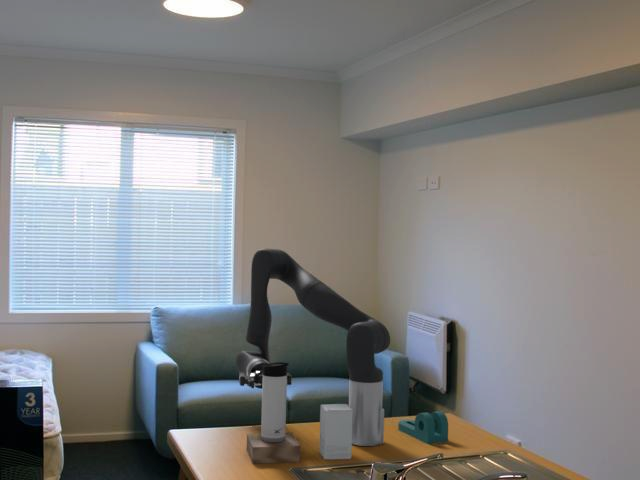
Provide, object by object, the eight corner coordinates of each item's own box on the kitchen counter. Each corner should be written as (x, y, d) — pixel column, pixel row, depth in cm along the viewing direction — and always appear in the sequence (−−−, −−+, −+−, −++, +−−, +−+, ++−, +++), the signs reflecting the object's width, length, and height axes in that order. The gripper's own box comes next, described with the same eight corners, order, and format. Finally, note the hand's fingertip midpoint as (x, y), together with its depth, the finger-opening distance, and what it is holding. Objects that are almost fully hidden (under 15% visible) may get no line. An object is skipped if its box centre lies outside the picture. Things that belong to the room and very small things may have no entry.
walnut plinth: (291, 447, 201) (291, 432, 201) (300, 461, 189) (300, 445, 189) (246, 449, 198) (246, 434, 198) (252, 463, 187) (252, 447, 187)
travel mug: (283, 443, 190) (285, 364, 190) (257, 441, 192) (260, 363, 191) (289, 437, 196) (291, 360, 196) (264, 435, 198) (266, 359, 198)
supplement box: (352, 459, 192) (353, 409, 192) (323, 460, 191) (324, 410, 191) (346, 451, 200) (347, 403, 199) (318, 451, 198) (319, 403, 198)
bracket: (447, 442, 211) (448, 414, 211) (427, 444, 208) (428, 416, 208) (413, 426, 227) (414, 400, 227) (394, 428, 225) (394, 402, 224)
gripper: (236, 360, 217) (242, 370, 201) (284, 359, 220) (295, 369, 204) (235, 386, 217) (242, 398, 201) (284, 385, 220) (294, 397, 204)
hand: (268, 384), depth 203 cm, fingers open, 8 cm apart
